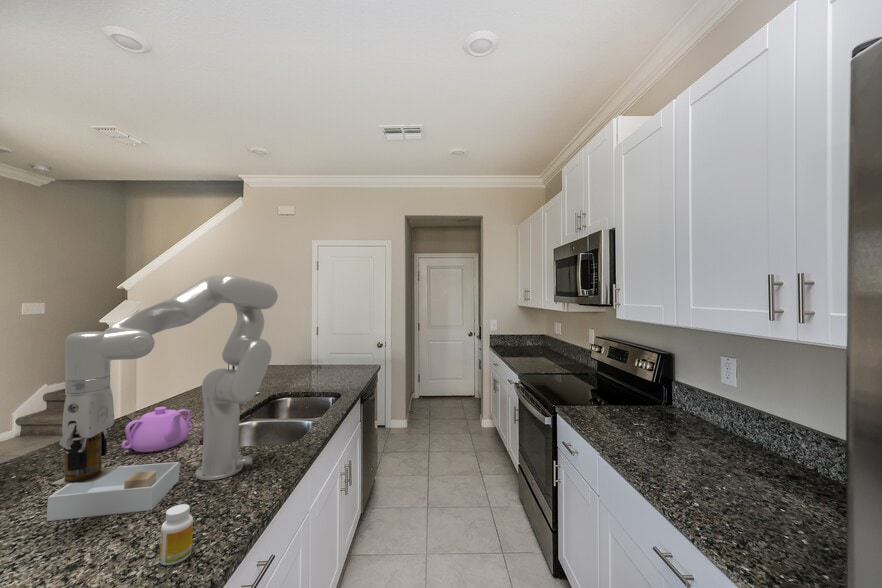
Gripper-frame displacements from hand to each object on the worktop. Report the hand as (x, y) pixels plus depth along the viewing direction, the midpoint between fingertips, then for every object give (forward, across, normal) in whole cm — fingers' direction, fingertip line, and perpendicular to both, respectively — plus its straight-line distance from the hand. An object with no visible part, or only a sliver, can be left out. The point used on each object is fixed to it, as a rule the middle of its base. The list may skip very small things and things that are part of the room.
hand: (88, 461), depth 83 cm
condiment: (+3, 0, 0) cm, 3 cm away
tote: (+15, +12, 0) cm, 20 cm away
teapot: (+16, +49, +6) cm, 52 cm away
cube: (+15, +12, -5) cm, 20 cm away
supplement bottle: (+15, -16, -24) cm, 33 cm away
